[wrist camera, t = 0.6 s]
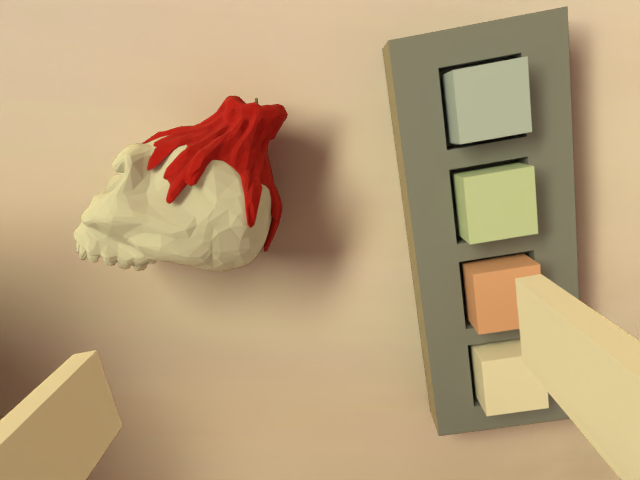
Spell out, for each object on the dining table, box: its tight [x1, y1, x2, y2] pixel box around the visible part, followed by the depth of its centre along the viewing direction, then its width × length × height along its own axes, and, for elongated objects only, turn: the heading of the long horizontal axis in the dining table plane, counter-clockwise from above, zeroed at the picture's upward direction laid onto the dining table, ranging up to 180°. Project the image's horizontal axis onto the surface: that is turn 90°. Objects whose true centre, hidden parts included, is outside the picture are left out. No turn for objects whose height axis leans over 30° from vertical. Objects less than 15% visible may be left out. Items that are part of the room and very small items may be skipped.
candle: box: [74, 96, 288, 271], centre depth 30 cm, size 9×11×15 cm
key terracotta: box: [462, 253, 541, 335], centre depth 32 cm, size 4×4×3 cm
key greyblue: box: [442, 56, 532, 144], centre depth 29 cm, size 4×4×3 cm
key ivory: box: [470, 338, 549, 416], centre depth 33 cm, size 4×4×3 cm
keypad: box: [382, 7, 579, 436], centre depth 33 cm, size 11×29×3 cm, turn 10°
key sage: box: [453, 163, 538, 244], centre depth 30 cm, size 4×4×3 cm
